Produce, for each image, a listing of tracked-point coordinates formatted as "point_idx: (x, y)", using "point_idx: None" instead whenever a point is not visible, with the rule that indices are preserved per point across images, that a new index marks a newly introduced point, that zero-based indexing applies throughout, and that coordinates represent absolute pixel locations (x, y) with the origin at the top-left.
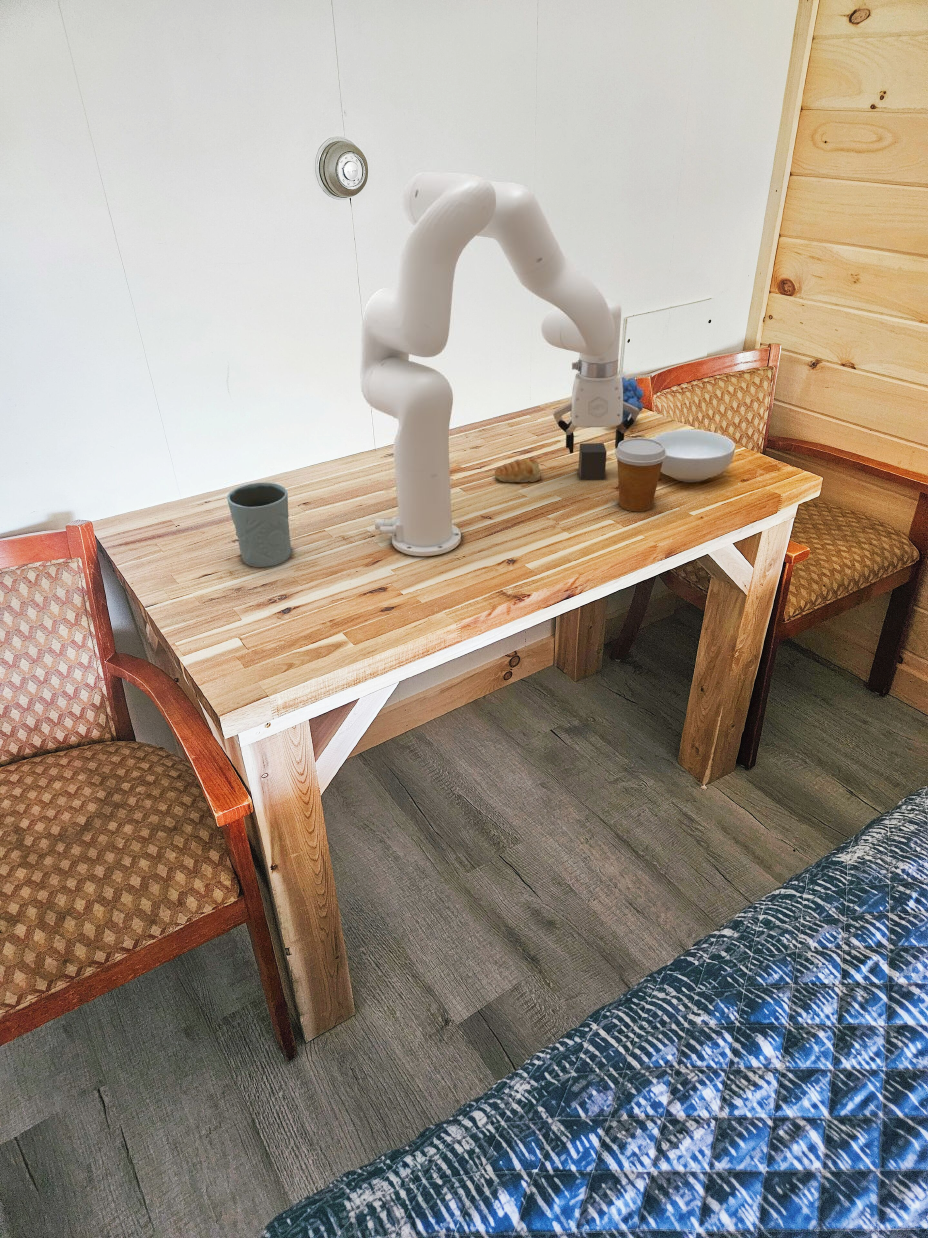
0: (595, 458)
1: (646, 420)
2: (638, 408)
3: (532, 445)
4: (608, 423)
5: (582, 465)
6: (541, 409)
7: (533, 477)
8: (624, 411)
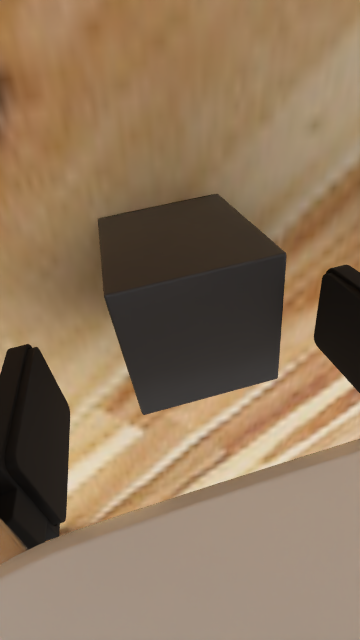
0: (175, 254)
1: None
2: None
3: (340, 421)
4: (127, 573)
5: (239, 220)
6: None
7: None
8: None
